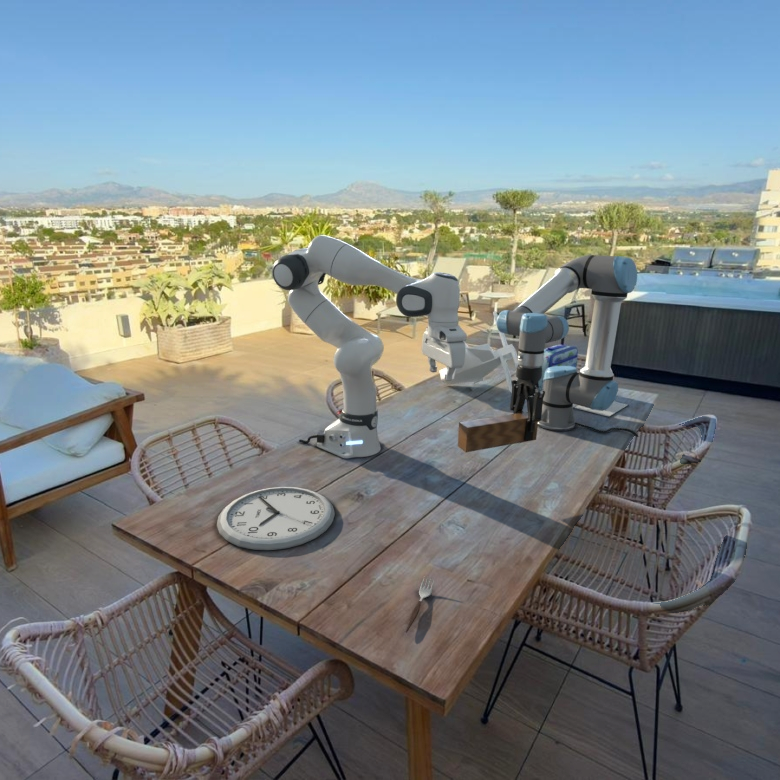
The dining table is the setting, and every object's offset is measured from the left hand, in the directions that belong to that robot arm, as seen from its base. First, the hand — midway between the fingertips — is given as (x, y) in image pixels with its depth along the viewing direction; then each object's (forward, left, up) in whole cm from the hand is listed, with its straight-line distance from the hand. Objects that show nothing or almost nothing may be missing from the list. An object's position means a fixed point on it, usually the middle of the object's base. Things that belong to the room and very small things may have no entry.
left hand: (440, 375), depth 156 cm
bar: (+17, +8, -21) cm, 28 cm away
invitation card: (+34, +94, -31) cm, 104 cm away
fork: (+25, -59, -31) cm, 71 cm away
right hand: (+22, +15, -20) cm, 34 cm away
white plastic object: (-18, +84, -31) cm, 91 cm away
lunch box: (+9, +108, -31) cm, 113 cm away
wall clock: (-23, -48, -31) cm, 61 cm away
